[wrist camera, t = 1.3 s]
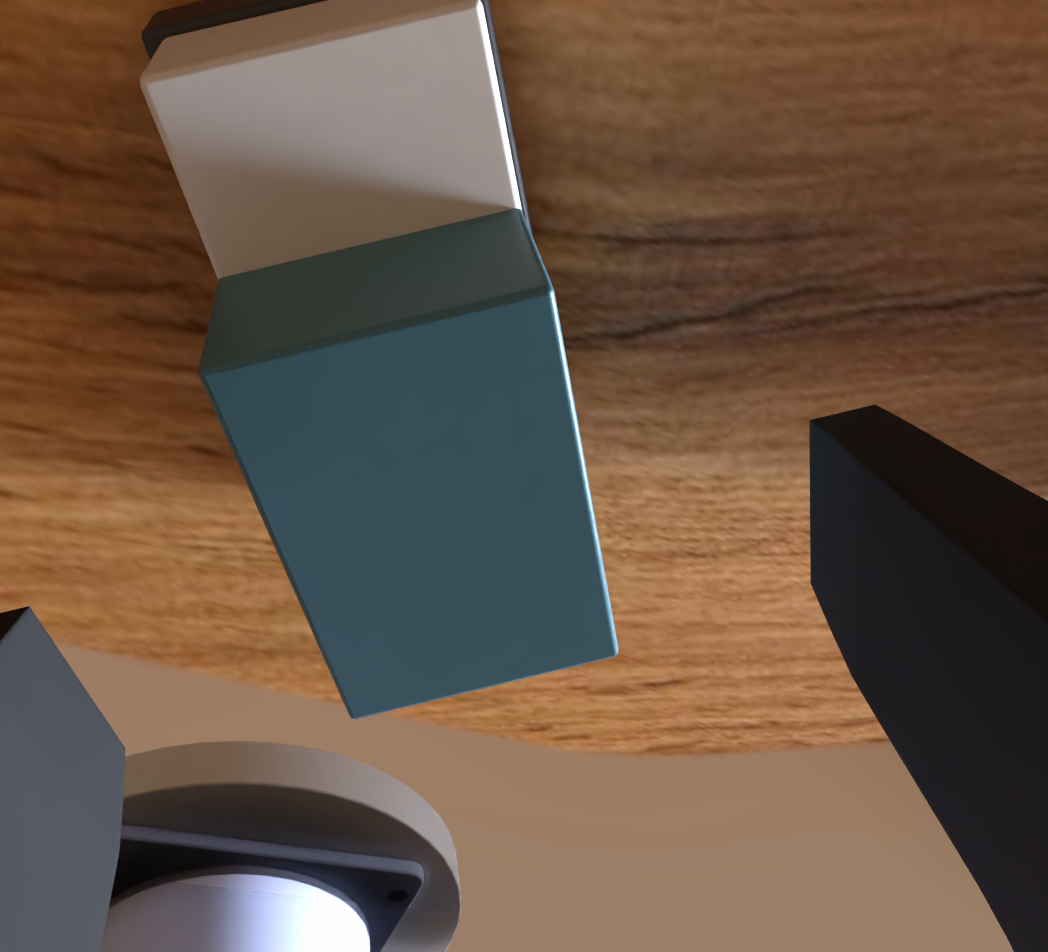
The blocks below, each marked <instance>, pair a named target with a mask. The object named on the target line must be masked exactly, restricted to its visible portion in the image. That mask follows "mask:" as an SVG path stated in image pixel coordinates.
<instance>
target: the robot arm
mask: <svg viewBox="0 0 1048 952" xmlns="http://www.w3.org/2000/svg"><path fill="white" fill-rule="evenodd" d="M810 546H811V585H812V587H813V590H814V592H815V594H816V597H817V599H818V601H819V604H820V606H821V608H822V610H823V613H824V615H825V617H826V620H827V622H828V624H829V627H830V629H831V631H832V634H833V636H834V638H835V640H836V642H837V645H838V647H839V649H840V651H841V653H842V656H843V658H844V660H845V662H846V664H847V667H848V669H849V671H850V673H851V675H852V677H853V679H854V680H855V682H856V684H857V686H858V687H859V689H860V691H861V692H862V694H863V696H864V698H865V699H866V701H867V703H868V704H869V706H870V708H871V709H872V711H873V713H874V714H875V716H876V718H877V719H878V721H879V723H880V724H881V726H882V728H883V729H884V731H885V733H886V734H887V736H888V738H889V739H890V741H891V743H892V744H893V746H894V748H895V749H896V751H897V752H898V754H899V756H900V757H901V759H902V761H903V762H904V764H905V766H906V767H907V769H908V771H909V772H910V774H911V776H912V777H913V779H914V780H915V782H916V784H917V786H918V787H919V789H920V790H921V792H922V794H923V795H924V797H925V799H926V800H927V802H928V804H929V805H930V807H931V809H932V810H933V812H934V813H935V815H936V817H937V818H938V820H939V821H940V823H941V825H942V827H943V828H944V830H945V832H946V833H947V835H948V837H949V838H950V840H951V841H952V843H953V845H954V846H955V848H956V850H957V851H958V853H959V854H960V856H961V858H962V859H963V861H964V863H965V865H966V866H967V868H968V869H969V871H970V873H971V874H972V876H973V878H974V879H975V881H976V883H977V884H978V886H979V888H980V890H981V891H982V893H983V895H984V897H985V898H986V900H987V902H988V904H989V906H990V908H991V909H992V911H993V913H994V915H995V917H996V918H997V920H998V922H999V924H1000V926H1001V927H1002V929H1003V931H1004V933H1005V935H1006V936H1007V938H1008V940H1009V942H1010V944H1011V947H1012V949H1013V951H1014V952H1048V501H1047V500H1045V499H1043V498H1041V497H1039V496H1038V495H1036V494H1034V493H1032V492H1030V491H1029V490H1027V489H1025V488H1023V487H1021V486H1020V485H1018V484H1016V483H1014V482H1012V481H1011V480H1009V479H1007V478H1005V477H1003V476H1002V475H1000V474H998V473H996V472H995V471H993V470H991V469H989V468H987V467H986V466H984V465H982V464H980V463H979V462H977V461H975V460H973V459H972V458H970V457H968V456H966V455H965V454H963V453H961V452H959V451H957V450H956V449H954V448H952V447H951V446H949V445H947V444H945V443H944V442H942V441H940V440H938V439H937V438H935V437H933V436H931V435H930V434H928V433H926V432H924V431H923V430H921V429H919V428H917V427H915V426H914V425H912V424H910V423H908V422H907V421H905V420H903V419H901V418H899V417H898V416H896V415H894V414H892V413H890V412H888V411H886V410H884V409H883V408H881V407H879V406H877V405H871V406H867V407H863V408H859V409H855V410H850V411H846V412H842V413H838V414H834V415H829V416H825V417H821V418H817V419H813V420H810ZM124 766H125V747H124V746H123V744H122V743H121V741H120V740H119V738H118V737H117V735H116V734H115V732H114V731H113V729H112V728H111V727H110V725H109V723H108V722H107V720H106V719H105V717H104V716H103V715H102V713H101V712H100V710H99V709H98V707H97V706H96V704H95V703H94V701H93V700H92V698H91V697H90V696H89V694H88V692H87V691H86V689H85V688H84V687H83V685H82V683H81V682H80V681H79V679H78V678H77V676H76V675H75V673H74V672H73V670H72V669H71V667H70V666H69V664H68V663H67V661H66V660H65V658H64V657H63V656H62V654H61V653H60V651H59V650H58V648H57V646H56V645H55V644H54V642H53V641H52V639H51V638H50V636H49V635H48V633H47V632H46V630H45V629H44V627H43V626H42V624H41V623H40V621H39V620H38V618H37V617H36V615H35V614H34V612H33V611H32V609H31V608H30V607H29V606H28V607H24V608H20V609H16V610H11V611H7V612H3V613H0V952H381V951H382V949H383V948H384V946H385V944H386V943H387V941H388V940H389V938H390V936H391V935H392V933H393V932H394V930H395V929H396V927H397V925H398V924H399V922H400V921H401V919H402V917H403V916H404V914H405V913H406V911H407V910H408V908H409V906H410V905H411V903H412V902H413V900H414V898H415V897H416V895H417V894H418V892H419V890H420V889H421V887H422V886H423V883H424V873H423V868H422V866H421V865H420V864H418V863H417V862H414V861H411V860H404V859H396V858H388V857H381V856H373V855H365V854H357V853H350V852H342V851H334V850H327V849H319V848H311V847H303V846H296V845H288V844H280V843H272V842H265V841H257V840H249V839H241V838H234V837H226V836H218V835H211V834H203V833H195V832H187V831H180V830H172V829H164V828H156V827H149V826H141V825H133V824H126V823H121V822H122V809H123V789H124Z"/></svg>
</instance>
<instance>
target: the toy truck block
mask: <svg viewBox="0 0 1048 952" xmlns="http://www.w3.org/2000/svg"><path fill="white" fill-rule="evenodd" d="M142 40H143V43H144V45H145V48H146V51H147V53H148V56H149V58H150V62H149V64H148V65H147V67H146V69H145V70H144V72H143V74H142V75H141V77H140V87H141V89H142V92H143V94H144V97H145V99H146V102H147V104H148V107H149V109H150V111H151V114H152V116H153V119H154V121H155V124H156V126H157V129H158V131H159V134H160V136H161V139H162V141H163V144H164V146H165V149H166V151H167V154H168V156H169V159H170V161H171V164H172V166H173V169H174V171H175V174H176V176H177V179H178V181H179V184H180V186H181V189H182V191H183V194H184V196H185V199H186V201H187V204H188V206H189V209H190V211H191V213H192V216H193V218H194V221H195V223H196V226H197V228H198V231H199V233H200V236H201V238H202V241H203V243H204V246H205V248H206V251H207V253H208V256H209V258H210V261H211V263H212V266H213V268H214V271H215V273H216V276H217V278H218V285H217V289H216V294H215V298H214V303H213V307H212V312H211V316H210V320H209V325H208V329H207V334H206V338H205V343H204V347H203V351H202V356H201V360H200V365H199V371H198V375H199V377H200V379H201V381H202V384H203V386H204V388H205V390H206V393H207V395H208V397H209V399H210V402H211V404H212V406H213V409H214V411H215V413H216V415H217V418H218V420H219V422H220V424H221V427H222V429H223V431H224V433H225V436H226V438H227V440H228V442H229V445H230V447H231V449H232V451H233V454H234V456H235V458H236V460H237V463H238V465H239V467H240V469H241V472H242V474H243V476H244V478H245V481H246V483H247V485H248V488H249V490H250V492H251V494H252V497H253V499H254V501H255V503H256V506H257V508H258V510H259V512H260V515H261V517H262V519H263V521H264V524H265V526H266V528H267V530H268V533H269V535H270V537H271V539H272V542H273V544H274V546H275V548H276V551H277V553H278V555H279V557H280V560H281V562H282V564H283V567H284V569H285V571H286V573H287V576H288V578H289V580H290V582H291V585H292V587H293V589H294V591H295V594H296V596H297V598H298V600H299V603H300V605H301V607H302V609H303V612H304V614H305V616H306V618H307V621H308V623H309V625H310V627H311V630H312V632H313V634H314V636H315V639H316V641H317V643H318V645H319V648H320V650H321V652H322V655H323V657H324V659H325V661H326V664H327V666H328V668H329V670H330V673H331V675H332V677H333V679H334V682H335V684H336V686H337V688H338V691H339V693H340V695H341V697H342V700H343V702H344V704H345V706H346V709H347V711H348V713H349V715H350V717H351V718H352V719H359V718H363V717H367V716H372V715H376V714H380V713H384V712H388V711H392V710H396V709H401V708H405V707H409V706H413V705H417V704H421V703H425V702H430V701H434V700H438V699H442V698H446V697H450V696H454V695H458V694H463V693H467V692H471V691H475V690H479V689H483V688H487V687H492V686H496V685H500V684H504V683H508V682H512V681H516V680H520V679H525V678H529V677H533V676H537V675H541V674H545V673H549V672H554V671H558V670H562V669H566V668H570V667H574V666H578V665H582V664H587V663H591V662H595V661H599V660H603V659H607V658H611V657H615V656H616V655H617V654H618V643H617V638H616V632H615V627H614V621H613V615H612V610H611V604H610V599H609V593H608V588H607V582H606V576H605V571H604V565H603V560H602V554H601V548H600V543H599V537H598V532H597V526H596V521H595V515H594V509H593V504H592V498H591V493H590V487H589V481H588V476H587V470H586V465H585V459H584V454H583V448H582V442H581V437H580V431H579V426H578V420H577V415H576V409H575V403H574V398H573V392H572V387H571V381H570V375H569V370H568V364H567V359H566V353H565V348H564V342H563V336H562V331H561V325H560V320H559V314H558V308H557V303H556V297H555V292H554V288H553V286H552V284H551V281H550V279H549V276H548V274H547V271H546V269H545V266H544V264H543V261H542V259H541V256H540V254H539V251H538V249H537V247H536V244H535V242H534V238H533V233H532V227H531V222H530V217H529V211H528V206H527V201H526V195H525V190H524V184H523V179H522V174H521V168H520V163H519V158H518V152H517V147H516V142H515V136H514V131H513V126H512V120H511V115H510V109H509V104H508V99H507V93H506V88H505V83H504V77H503V72H502V67H501V61H500V56H499V51H498V45H497V40H496V34H495V29H494V24H493V18H492V13H491V8H490V2H489V0H206V1H201V2H197V3H193V4H188V5H184V6H180V7H175V8H171V9H167V10H162V11H158V12H157V13H156V14H155V15H154V16H153V17H152V18H151V20H150V21H149V23H148V24H147V26H146V27H145V28H144V30H143V31H142Z"/></svg>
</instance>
